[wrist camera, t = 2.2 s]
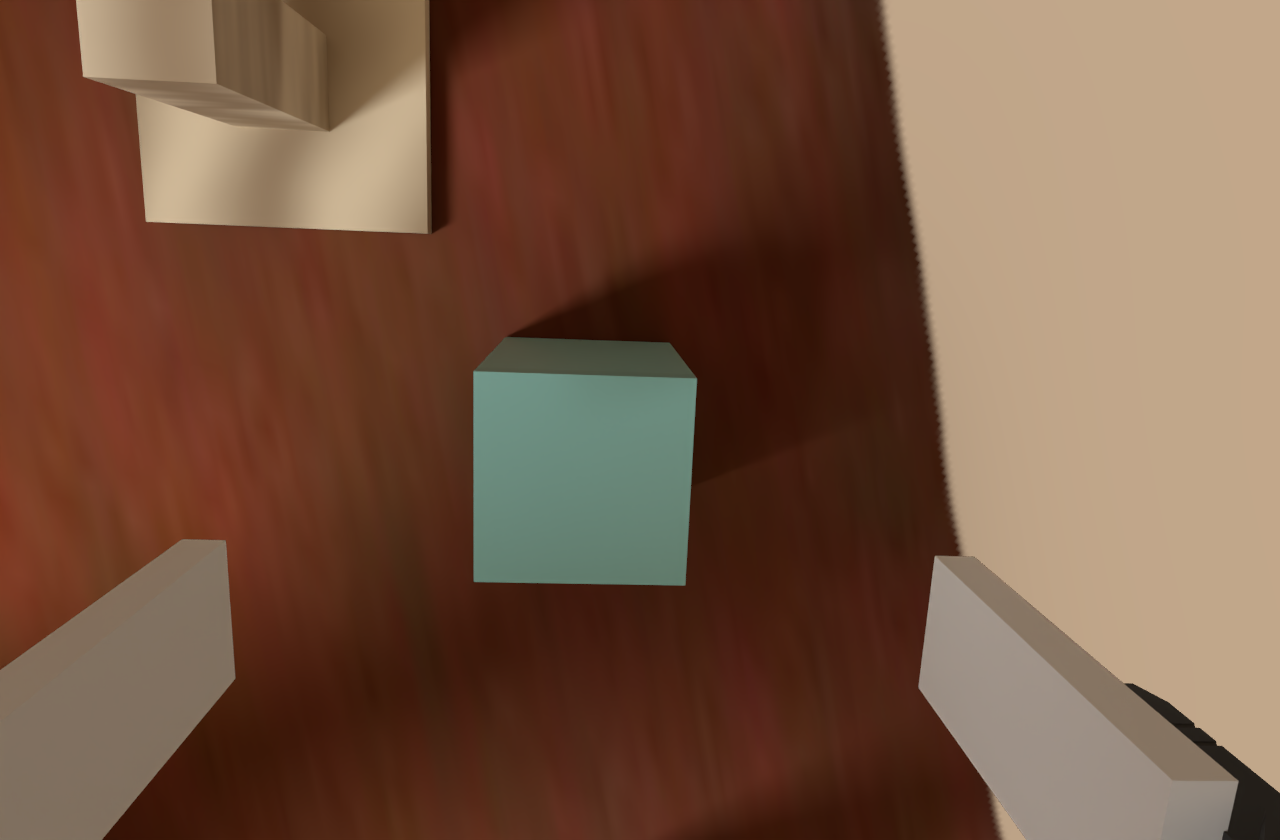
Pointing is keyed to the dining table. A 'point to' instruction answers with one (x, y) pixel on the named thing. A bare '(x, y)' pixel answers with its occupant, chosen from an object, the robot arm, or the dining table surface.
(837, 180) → the dining table surface
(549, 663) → the dining table surface
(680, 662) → the dining table surface
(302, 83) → the beige t-shaped piece
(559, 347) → the matte teal cube
